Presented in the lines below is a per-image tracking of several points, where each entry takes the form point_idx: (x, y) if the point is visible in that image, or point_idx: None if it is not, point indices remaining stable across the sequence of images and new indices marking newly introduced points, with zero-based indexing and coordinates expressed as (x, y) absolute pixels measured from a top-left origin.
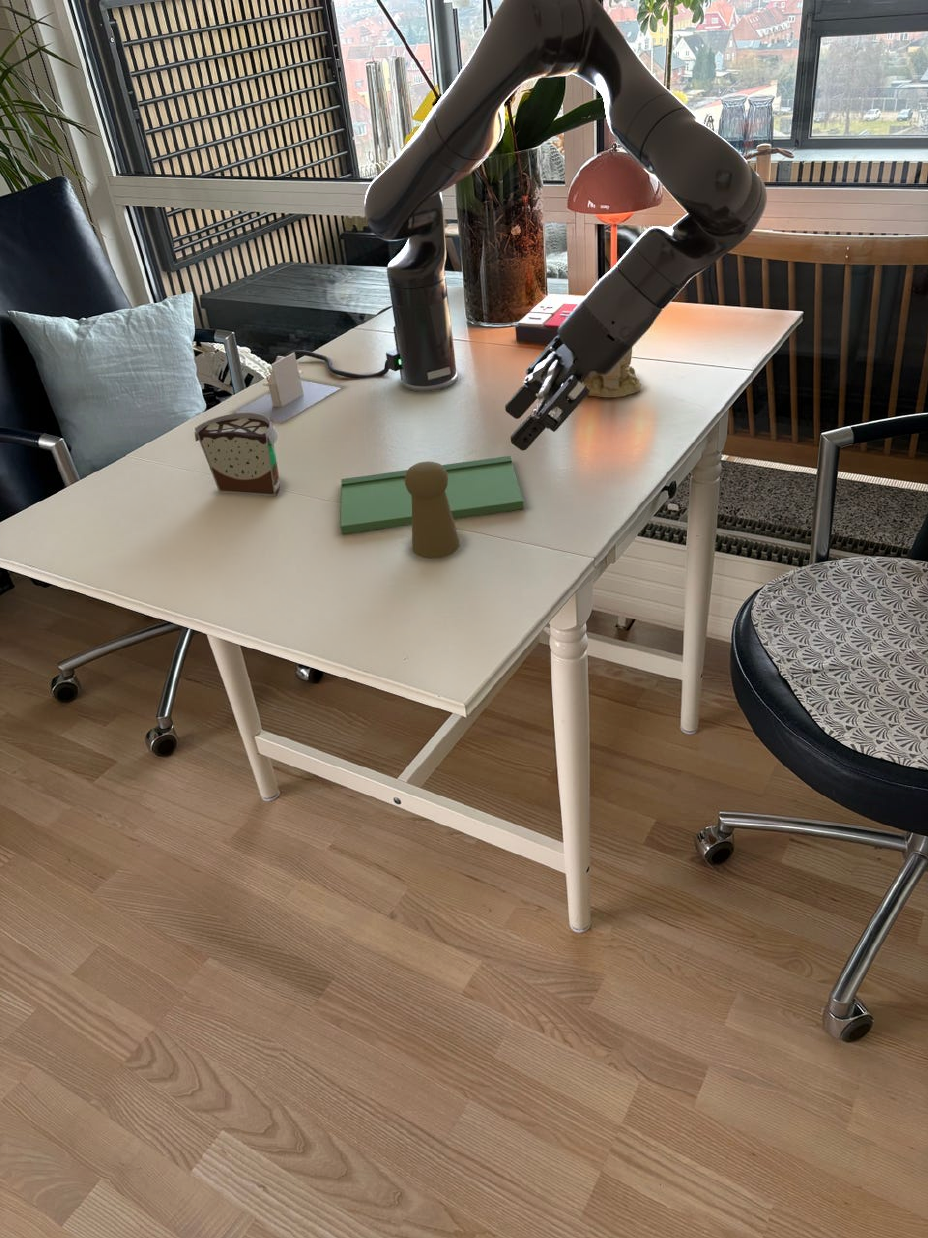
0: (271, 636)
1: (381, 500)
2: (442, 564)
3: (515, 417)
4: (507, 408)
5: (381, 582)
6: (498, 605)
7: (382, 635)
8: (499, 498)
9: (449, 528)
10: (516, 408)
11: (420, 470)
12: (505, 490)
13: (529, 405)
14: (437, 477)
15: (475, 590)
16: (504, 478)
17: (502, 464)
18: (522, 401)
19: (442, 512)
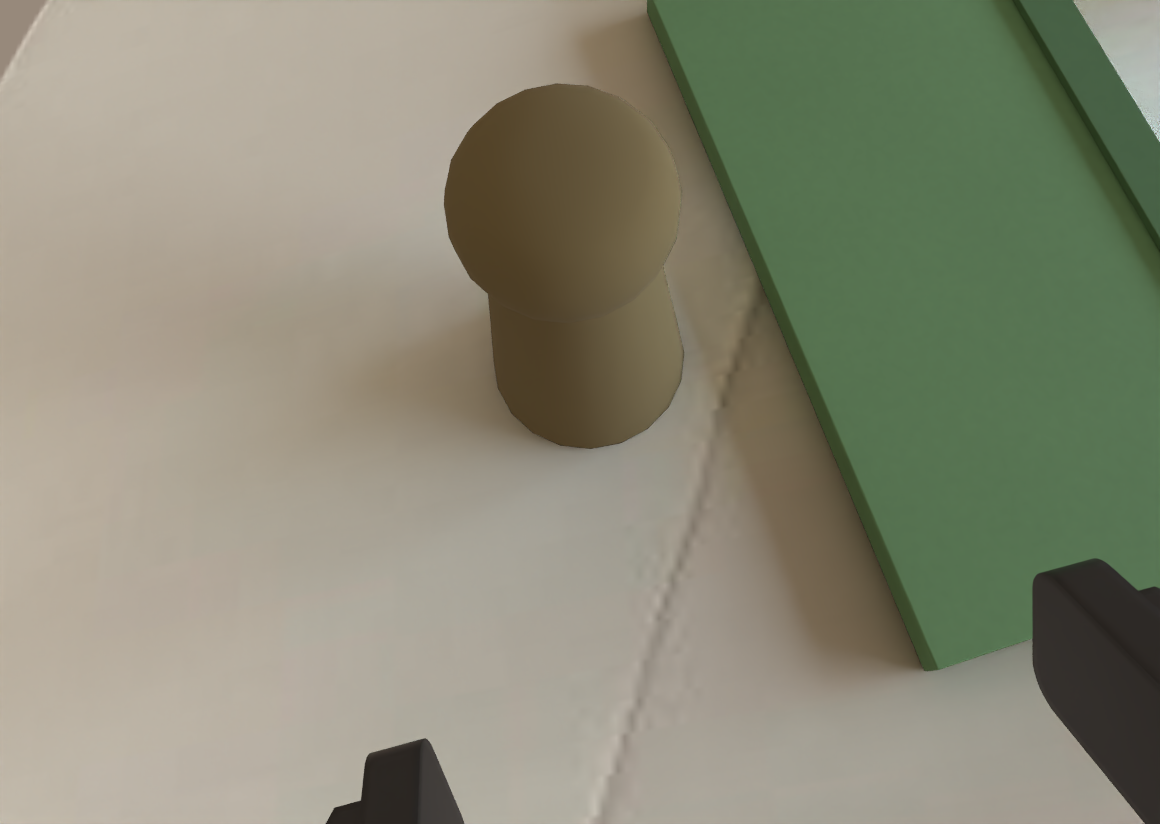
0: (66, 14)
1: (855, 64)
2: (454, 415)
3: (1035, 667)
4: (1049, 592)
5: (339, 233)
6: (171, 697)
7: (33, 326)
8: (943, 548)
9: (543, 396)
10: (1084, 680)
11: (514, 150)
12: (1027, 562)
13: (1149, 821)
14: (492, 258)
15: (275, 583)
16: (1146, 533)
17: None
18: (1147, 750)
19: (523, 346)
